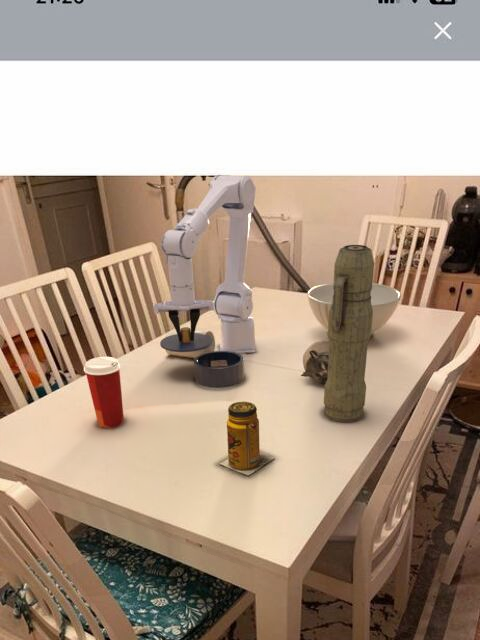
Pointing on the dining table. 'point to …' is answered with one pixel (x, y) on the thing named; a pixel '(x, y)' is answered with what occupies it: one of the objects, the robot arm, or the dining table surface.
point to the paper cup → (105, 390)
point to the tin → (219, 369)
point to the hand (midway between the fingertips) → (186, 339)
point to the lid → (186, 342)
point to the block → (219, 363)
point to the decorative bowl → (381, 300)
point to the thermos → (349, 334)
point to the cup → (194, 353)
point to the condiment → (244, 439)
